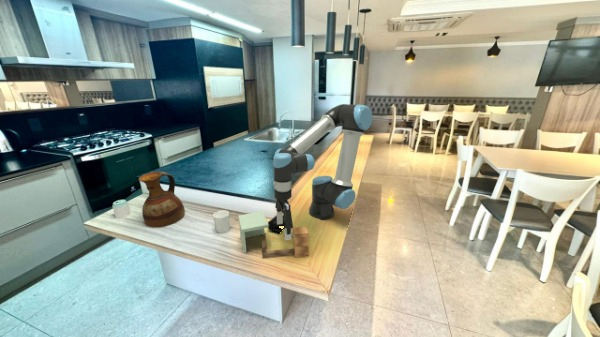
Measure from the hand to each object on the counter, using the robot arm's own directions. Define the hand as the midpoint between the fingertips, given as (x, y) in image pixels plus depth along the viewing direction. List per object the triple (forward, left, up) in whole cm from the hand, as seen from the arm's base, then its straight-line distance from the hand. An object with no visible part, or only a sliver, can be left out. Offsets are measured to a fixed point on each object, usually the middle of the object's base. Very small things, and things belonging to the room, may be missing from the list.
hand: (283, 231), depth 106 cm
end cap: (-1, -16, -9) cm, 18 cm away
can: (+80, -55, -9) cm, 97 cm away
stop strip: (-5, -9, -8) cm, 13 cm away
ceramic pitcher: (+57, -45, -9) cm, 73 cm away
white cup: (+27, -24, -9) cm, 37 cm away
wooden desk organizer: (-6, +7, -8) cm, 12 cm away
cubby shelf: (+13, -8, -8) cm, 17 cm away
